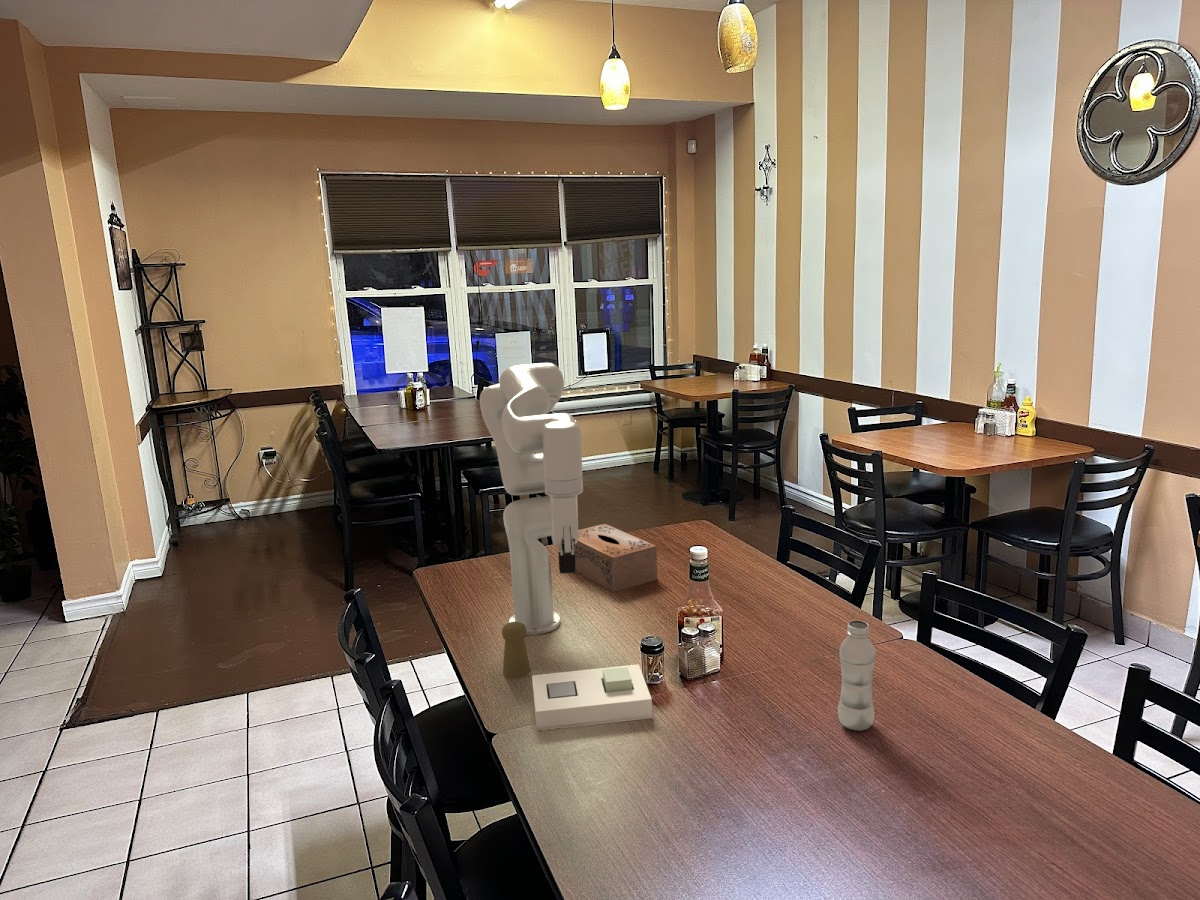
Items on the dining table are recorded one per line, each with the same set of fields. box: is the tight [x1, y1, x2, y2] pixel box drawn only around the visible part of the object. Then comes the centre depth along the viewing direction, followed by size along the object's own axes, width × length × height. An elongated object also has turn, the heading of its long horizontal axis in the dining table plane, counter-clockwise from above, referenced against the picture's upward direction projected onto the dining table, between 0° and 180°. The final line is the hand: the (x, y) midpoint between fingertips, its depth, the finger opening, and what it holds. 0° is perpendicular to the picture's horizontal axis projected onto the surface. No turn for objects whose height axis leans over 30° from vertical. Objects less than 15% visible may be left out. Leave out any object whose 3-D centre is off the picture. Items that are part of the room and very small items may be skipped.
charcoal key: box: [548, 682, 576, 699], centre depth 157 cm, size 5×5×3 cm
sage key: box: [603, 667, 632, 693], centre depth 157 cm, size 5×5×3 cm
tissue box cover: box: [574, 523, 658, 593], centre depth 226 cm, size 26×14×10 cm, turn 33°
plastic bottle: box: [837, 619, 877, 732], centre depth 145 cm, size 6×7×20 cm
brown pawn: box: [501, 622, 532, 679], centre depth 171 cm, size 6×6×11 cm
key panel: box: [531, 663, 653, 732], centre depth 157 cm, size 14×22×4 cm, turn 97°
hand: (567, 571), depth 161 cm, fingers closed
